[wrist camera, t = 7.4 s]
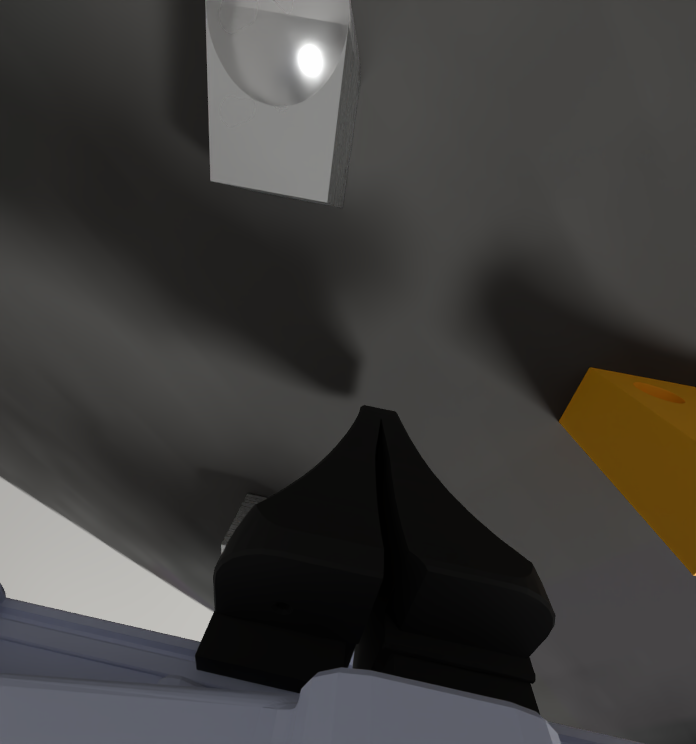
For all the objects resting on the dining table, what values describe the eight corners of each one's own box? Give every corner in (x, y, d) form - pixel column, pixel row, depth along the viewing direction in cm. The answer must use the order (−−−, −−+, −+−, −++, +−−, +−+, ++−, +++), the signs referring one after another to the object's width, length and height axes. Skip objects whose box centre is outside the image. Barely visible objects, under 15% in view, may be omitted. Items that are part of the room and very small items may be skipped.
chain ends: (293, 557, 19) (277, 612, 16) (245, 547, 19) (222, 600, 16) (369, 12, 8) (362, -90, 6) (261, -7, 8) (201, -116, 6)
